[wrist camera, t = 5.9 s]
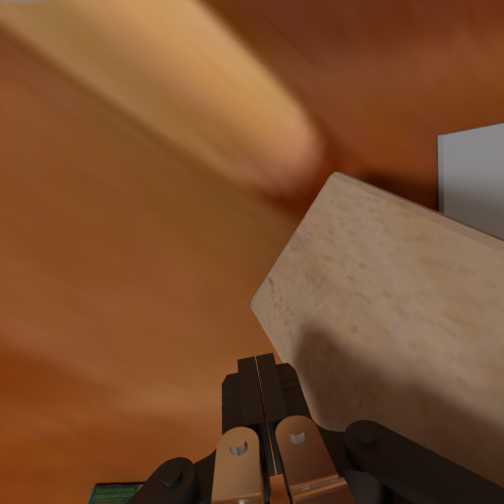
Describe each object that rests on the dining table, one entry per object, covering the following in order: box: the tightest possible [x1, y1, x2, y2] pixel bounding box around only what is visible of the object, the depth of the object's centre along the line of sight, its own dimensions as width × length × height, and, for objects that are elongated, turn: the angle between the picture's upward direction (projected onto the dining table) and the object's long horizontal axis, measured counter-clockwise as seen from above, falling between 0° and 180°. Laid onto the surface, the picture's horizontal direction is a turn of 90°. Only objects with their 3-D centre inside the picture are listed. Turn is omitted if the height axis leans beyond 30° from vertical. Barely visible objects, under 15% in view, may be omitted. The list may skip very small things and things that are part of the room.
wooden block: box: [251, 172, 504, 488], centre depth 15 cm, size 10×10×20 cm
